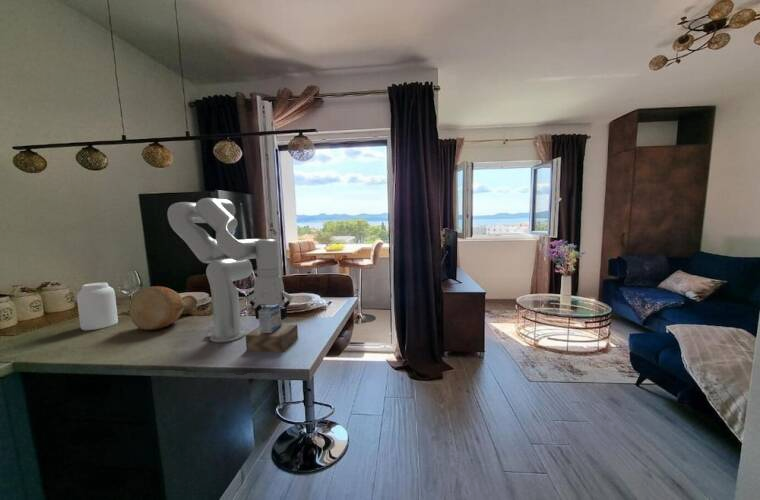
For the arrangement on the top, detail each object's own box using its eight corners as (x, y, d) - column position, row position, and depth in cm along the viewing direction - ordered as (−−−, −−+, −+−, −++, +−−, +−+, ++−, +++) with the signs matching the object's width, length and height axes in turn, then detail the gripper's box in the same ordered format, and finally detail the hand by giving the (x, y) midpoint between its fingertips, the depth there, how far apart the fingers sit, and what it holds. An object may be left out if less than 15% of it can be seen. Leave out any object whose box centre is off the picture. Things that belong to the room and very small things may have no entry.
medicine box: (271, 333, 103) (269, 310, 102) (259, 333, 103) (257, 310, 102) (281, 325, 110) (280, 303, 110) (271, 325, 111) (269, 303, 110)
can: (100, 330, 126) (94, 286, 124) (72, 331, 126) (66, 286, 124) (125, 321, 139) (121, 280, 137) (100, 321, 139) (95, 281, 137)
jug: (106, 308, 118) (160, 298, 148) (135, 344, 118) (183, 326, 148) (145, 278, 119) (191, 274, 149) (174, 314, 119) (214, 302, 149)
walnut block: (246, 351, 103) (245, 335, 102) (265, 337, 114) (264, 323, 114) (282, 353, 100) (281, 336, 100) (298, 339, 112) (297, 324, 112)
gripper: (240, 274, 102) (243, 321, 104) (286, 274, 100) (289, 322, 102) (251, 271, 109) (254, 314, 111) (295, 271, 107) (297, 315, 109)
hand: (271, 318), depth 106 cm, fingers open, 9 cm apart
